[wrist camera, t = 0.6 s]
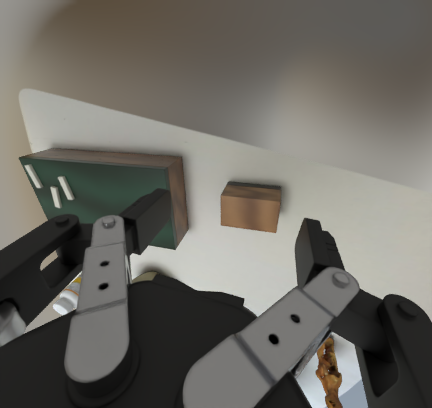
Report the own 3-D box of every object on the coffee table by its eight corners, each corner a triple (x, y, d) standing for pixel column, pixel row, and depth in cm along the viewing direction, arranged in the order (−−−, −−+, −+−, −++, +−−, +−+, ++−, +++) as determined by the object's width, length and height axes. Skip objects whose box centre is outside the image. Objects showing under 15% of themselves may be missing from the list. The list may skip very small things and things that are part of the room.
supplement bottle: (98, 288, 59) (68, 320, 51) (81, 277, 59) (48, 308, 50) (102, 278, 56) (72, 311, 48) (85, 267, 56) (51, 298, 48)
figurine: (304, 339, 47) (310, 409, 37) (324, 329, 44) (337, 403, 34) (321, 350, 47) (332, 422, 37) (342, 341, 44) (360, 417, 34)
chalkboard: (51, 148, 40) (18, 157, 35) (181, 156, 34) (164, 169, 29) (76, 212, 46) (51, 228, 41) (188, 229, 40) (175, 250, 35)
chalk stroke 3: (60, 176, 34) (57, 177, 34) (64, 175, 34) (62, 177, 33) (70, 198, 36) (67, 199, 36) (75, 198, 36) (72, 199, 35)
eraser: (227, 209, 36) (220, 225, 32) (228, 181, 34) (220, 195, 29) (276, 214, 34) (276, 233, 30) (280, 186, 32) (280, 201, 28)
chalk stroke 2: (52, 185, 36) (49, 186, 35) (57, 187, 36) (55, 188, 35) (57, 205, 38) (55, 206, 37) (62, 207, 38) (59, 208, 37)
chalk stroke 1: (26, 164, 35) (23, 165, 34) (31, 164, 35) (28, 165, 34) (39, 187, 37) (36, 188, 36) (43, 186, 36) (40, 188, 36)
